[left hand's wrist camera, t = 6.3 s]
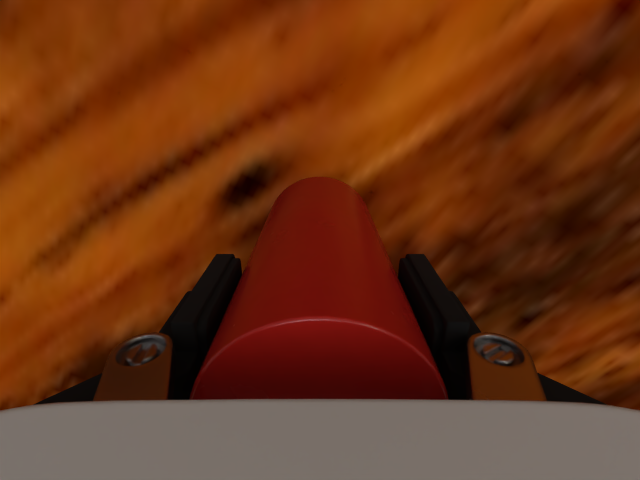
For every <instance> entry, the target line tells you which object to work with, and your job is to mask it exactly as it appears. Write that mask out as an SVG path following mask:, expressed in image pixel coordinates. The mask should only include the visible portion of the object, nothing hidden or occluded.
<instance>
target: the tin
mask: <svg viewBox="0 0 640 480" xmlns="http://www.w3.org/2000/svg"><path fill="white" fill-rule="evenodd" d="M222 399H409V400H449V398H448V393H447V390H446V387H445V385H444V382H443V379H442V377H441V375H440V372H439V370H438V368H437V366H436V363H435V361H434V359H433V357H432V354H431V352H430V350H429V347H428V345H427V343H426V341H425V338H424V336H423V334H422V331H421V329H420V327H419V325H418V322H417V320H416V318H415V316H414V313H413V311H412V309H411V306H410V304H409V302H408V300H407V297H406V295H405V293H404V290H403V288H402V286H401V284H400V281H399V279H398V277H397V275H396V272H395V270H394V268H393V265H392V263H391V261H390V259H389V256H388V254H387V252H386V249H385V247H384V245H383V243H382V240H381V238H380V236H379V234H378V231H377V229H376V227H375V224H374V222H373V220H372V218H371V215H370V213H369V211H368V208H367V206H366V204H365V202H364V201H363V199H362V198H361V196H360V195H359V194H358V193H357V192H356V191H355V190H354V189H353V188H351V187H350V186H349V185H347V184H345V183H344V182H341V181H339V180H336V179H333V178H328V177H312V178H306V179H303V180H300V181H298V182H296V183H294V184H292V185H290V186H289V187H288V188H286V189H285V190H284V191H283V192H282V193H281V194H280V195H279V197H278V198H277V199H276V201H275V203H274V205H273V207H272V209H271V211H270V213H269V216H268V218H267V220H266V222H265V225H264V227H263V229H262V231H261V234H260V236H259V238H258V240H257V243H256V245H255V247H254V249H253V252H252V254H251V256H250V258H249V261H248V263H247V265H246V267H245V270H244V272H243V274H242V276H241V279H240V281H239V283H238V285H237V288H236V290H235V292H234V294H233V297H232V299H231V301H230V303H229V306H228V308H227V310H226V312H225V315H224V317H223V319H222V321H221V324H220V326H219V328H218V330H217V333H216V335H215V337H214V339H213V342H212V344H211V346H210V348H209V351H208V353H207V355H206V357H205V360H204V362H203V364H202V366H201V369H200V371H199V373H198V375H197V378H196V380H195V382H194V385H193V388H192V391H191V394H190V400H222Z"/></svg>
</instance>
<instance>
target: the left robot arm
mask: <svg viewBox="0 0 640 480" xmlns="http://www.w3.org/2000/svg"><path fill="white" fill-rule="evenodd" d="M241 276H242V270H241V261H240V258H235V256H234V254H216V255H215V257H214V258H213V260H212V261H211V263H210V264H209V266H208V267H207V269H206V270H205V272H204V273H203V275H202V276H201V278H200V279H199V281H198V282H197V284H196V285H195V287H194V288H193V290H192V291H188V292H187V293H186V294H185V296H184V297H183V298H182V300H181V301H180V303H179V304H178V306H177V307H176V309H175V310H174V311H173V313H172V314H171V316H170V317H169V319H168V320H167V322H166V323H165V324H164V326H163V327H162V329H161V330H160V332H159V333H157V332H152V333H144V334H140V335H136V336H133V337H131V338H128V339H126V340H125V341H123V342H121V343H120V344H118V345H117V346H116V347H115V348H114V349H113V350H112V351H111V353H110V355H109V357H108V359H107V362H106V365H105V368H104V371H103V373H101V374H99V375H97V376H95V377H93V378H90V379H88V380H86V381H84V382H82V383H80V384H77V385H75V386H73V387H71V388H69V389H66V390H64V391H62V392H60V393H58V394H56V395H53V396H51V397H49V398H47V399H45V400H42V401H40V402H38V403H36V404H34V405H29V406H23V407H18V408H12V409H7V410H1V411H0V480H640V411H639V410H633V409H628V408H622V407H617V406H611V405H606V404H604V403H602V402H600V401H598V400H596V399H593V398H591V397H589V396H587V395H585V394H582V393H580V392H578V391H576V390H574V389H572V388H569V387H567V386H565V385H563V384H561V383H559V382H556V381H554V380H552V379H550V378H548V377H545V376H543V375H541V374H539V373H537V371H536V368H535V365H534V362H533V359H532V357H531V355H530V353H529V351H528V350H527V349H526V348H525V347H524V346H523V345H522V344H520V343H519V342H517V341H515V340H514V339H512V338H509V337H507V336H504V335H500V334H496V333H488V332H483V333H481V331H480V330H479V328H478V327H477V325H476V324H475V323H474V321H473V320H472V318H471V317H470V315H469V314H468V312H467V311H466V310H465V308H464V307H463V305H462V304H461V302H460V301H459V299H458V298H457V297H456V295H455V294H454V293H453V292H452V291H448V289H447V288H446V286H445V285H444V283H443V282H442V280H441V279H440V277H439V276H438V274H437V273H436V271H435V270H434V268H433V267H432V265H431V264H430V262H429V261H428V259H427V258H426V256H425V255H424V254H407V255H406V257H405V258H401V259H400V263H399V273H398V279H399V281H400V284H401V286H402V288H403V290H404V293H405V295H406V297H407V300H408V302H409V304H410V306H411V309H412V311H413V313H414V316H415V318H416V320H417V322H418V325H419V327H420V329H421V331H422V334H423V336H424V338H425V341H426V343H427V345H428V347H429V350H430V352H431V354H432V357H433V359H434V361H435V363H436V366H437V368H438V370H439V372H440V375H441V377H442V379H443V382H444V385H445V387H446V390H447V393H448V398H449V400H409V399H222V400H190V394H191V391H192V388H193V385H194V382H195V380H196V378H197V375H198V373H199V371H200V369H201V366H202V364H203V362H204V360H205V357H206V355H207V353H208V351H209V348H210V346H211V344H212V342H213V339H214V337H215V335H216V333H217V330H218V328H219V326H220V324H221V321H222V319H223V317H224V315H225V312H226V310H227V308H228V306H229V303H230V301H231V299H232V297H233V294H234V292H235V290H236V288H237V285H238V283H239V281H240V279H241Z"/></svg>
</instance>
